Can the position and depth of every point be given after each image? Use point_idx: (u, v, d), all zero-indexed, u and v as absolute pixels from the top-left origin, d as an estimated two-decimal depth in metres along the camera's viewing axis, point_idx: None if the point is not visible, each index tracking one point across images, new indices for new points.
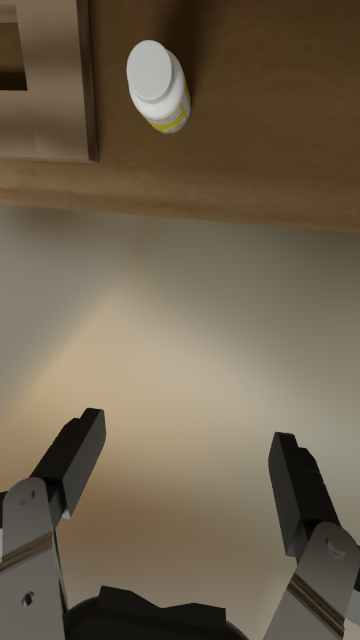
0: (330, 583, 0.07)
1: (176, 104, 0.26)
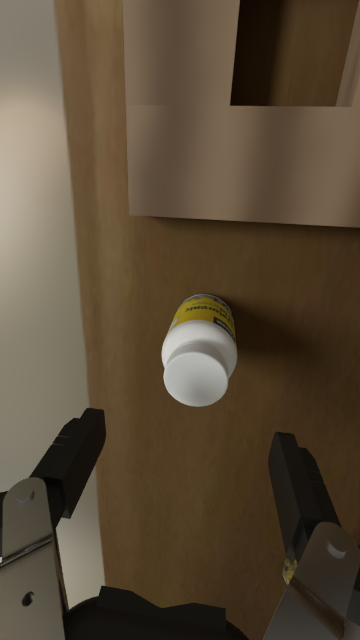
0: (330, 583, 0.07)
1: None
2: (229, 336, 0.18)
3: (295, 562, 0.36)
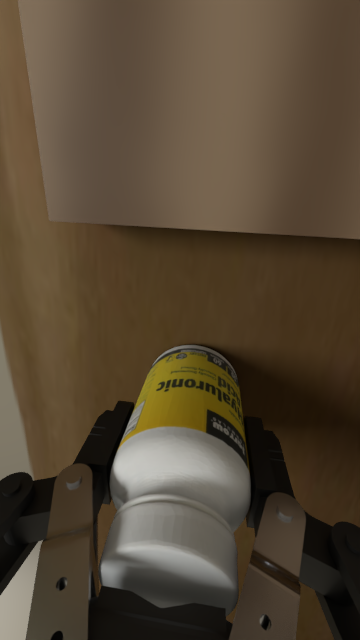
0: (284, 547, 0.08)
1: None
2: (237, 459, 0.09)
3: None
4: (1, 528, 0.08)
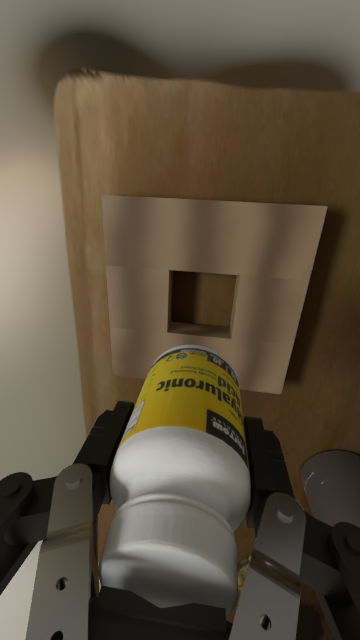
0: (284, 548, 0.08)
1: None
2: (237, 459, 0.09)
3: (240, 570, 0.50)
4: (1, 528, 0.08)
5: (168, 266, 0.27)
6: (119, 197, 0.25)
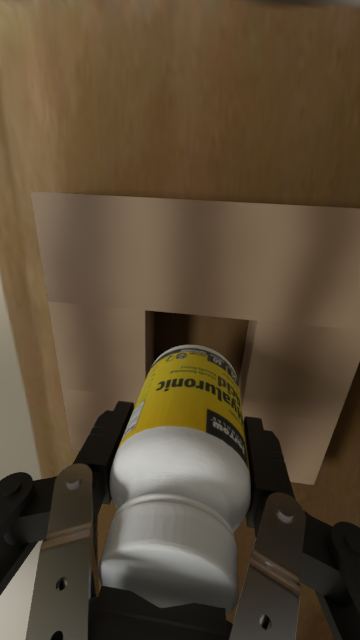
0: (284, 548, 0.08)
1: None
2: (237, 459, 0.09)
3: None
4: (1, 528, 0.08)
5: (144, 305, 0.17)
6: (60, 195, 0.15)
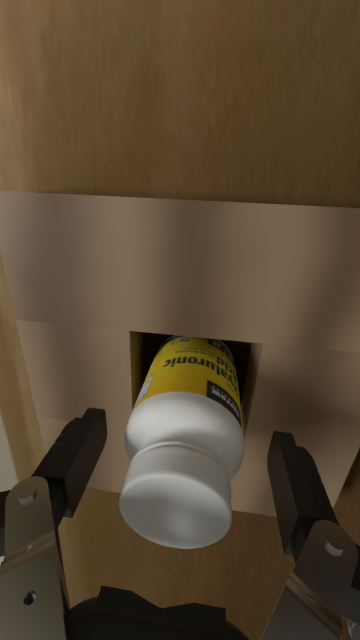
0: (328, 581, 0.07)
1: None
2: (232, 419, 0.11)
3: None
4: None
5: (128, 324, 0.14)
6: (22, 195, 0.12)
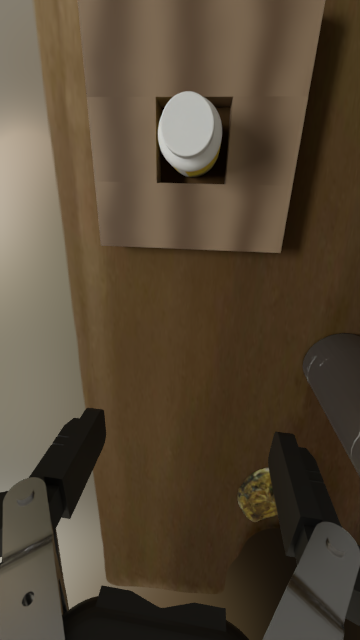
0: (330, 583, 0.07)
1: (169, 161, 0.23)
2: (215, 108, 0.21)
3: (245, 488, 0.48)
4: None
5: (154, 92, 0.24)
6: (97, 0, 0.22)
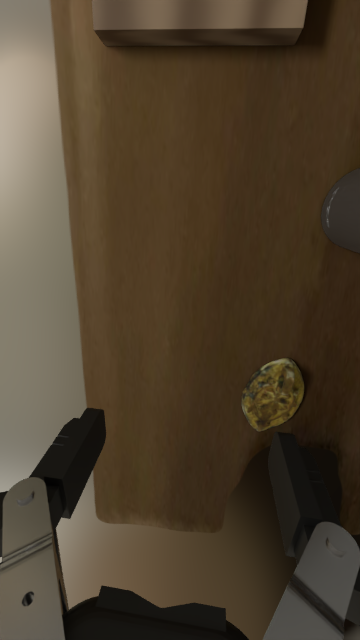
0: (330, 583, 0.07)
1: None
2: None
3: (250, 386, 0.43)
4: None
5: None
6: None
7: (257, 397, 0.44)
